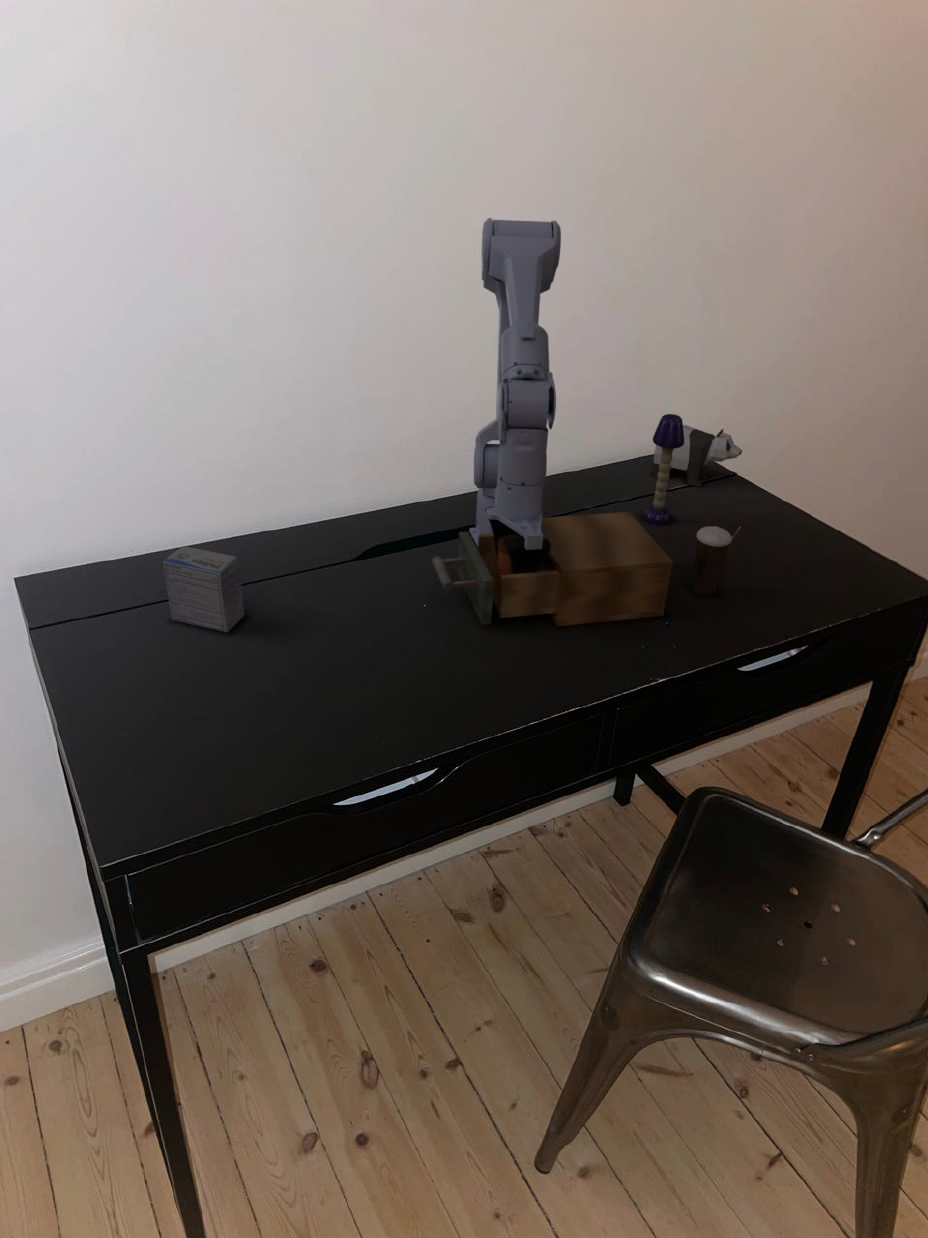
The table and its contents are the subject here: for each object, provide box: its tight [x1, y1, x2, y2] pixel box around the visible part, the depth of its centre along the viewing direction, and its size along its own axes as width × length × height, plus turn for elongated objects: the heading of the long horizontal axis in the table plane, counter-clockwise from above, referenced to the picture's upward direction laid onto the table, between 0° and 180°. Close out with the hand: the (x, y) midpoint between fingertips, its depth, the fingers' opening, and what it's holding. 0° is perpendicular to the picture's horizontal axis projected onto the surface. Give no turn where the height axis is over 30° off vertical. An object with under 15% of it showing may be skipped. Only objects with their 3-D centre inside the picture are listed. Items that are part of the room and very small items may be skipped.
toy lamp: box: [643, 413, 684, 525], centre depth 145 cm, size 5×5×17 cm
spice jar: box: [496, 535, 520, 592], centre depth 124 cm, size 5×5×6 cm
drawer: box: [431, 530, 561, 626], centre depth 124 cm, size 18×13×6 cm
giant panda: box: [653, 424, 743, 488], centre depth 160 cm, size 15×6×10 cm, turn 61°
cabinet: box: [541, 511, 674, 627], centre depth 127 cm, size 15×15×8 cm
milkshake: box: [691, 525, 742, 596], centre depth 128 cm, size 4×5×10 cm
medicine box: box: [162, 545, 245, 633], centre depth 117 cm, size 8×4×9 cm, turn 71°
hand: (513, 574), depth 124 cm, fingers open, 7 cm apart
